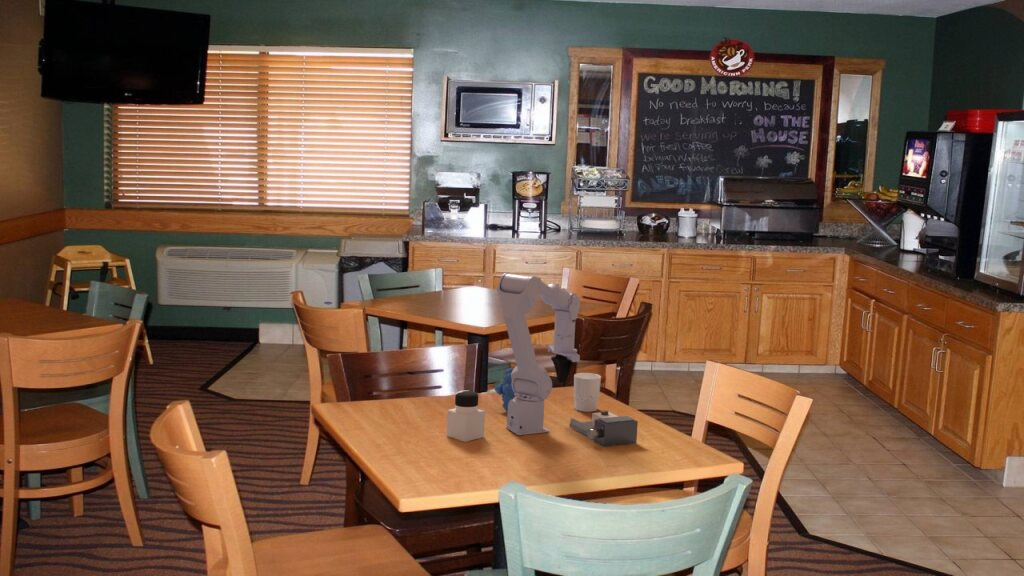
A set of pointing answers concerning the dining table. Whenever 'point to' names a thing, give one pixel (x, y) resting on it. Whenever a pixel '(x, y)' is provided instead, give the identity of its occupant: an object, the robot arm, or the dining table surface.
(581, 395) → the white cup
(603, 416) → the block
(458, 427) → the medicine bottle
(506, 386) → the grapes
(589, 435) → the module housing
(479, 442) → the dining table surface
